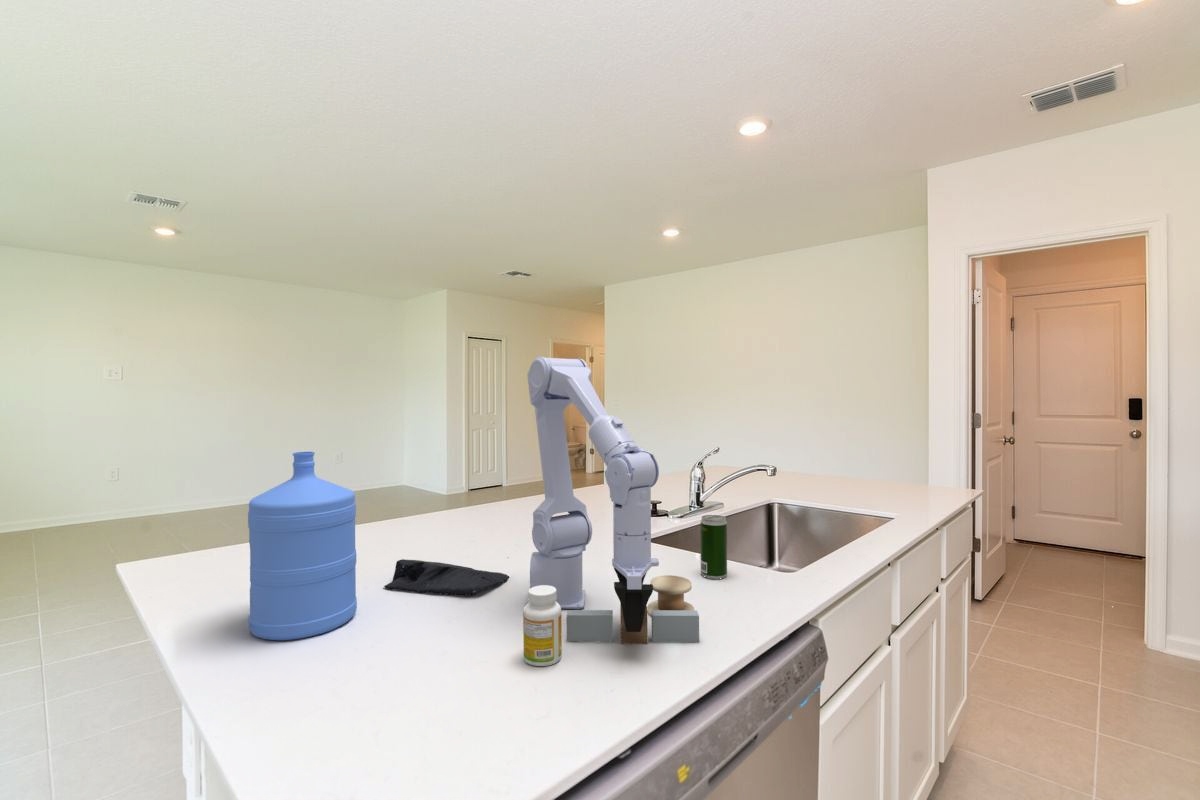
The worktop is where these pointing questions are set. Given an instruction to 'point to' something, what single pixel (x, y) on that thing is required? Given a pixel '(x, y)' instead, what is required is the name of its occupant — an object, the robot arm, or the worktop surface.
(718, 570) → the beer can
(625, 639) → the block
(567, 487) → the robot arm
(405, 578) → the dark slate chunk
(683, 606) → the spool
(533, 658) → the supplement bottle
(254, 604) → the water jug
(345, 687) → the worktop surface
